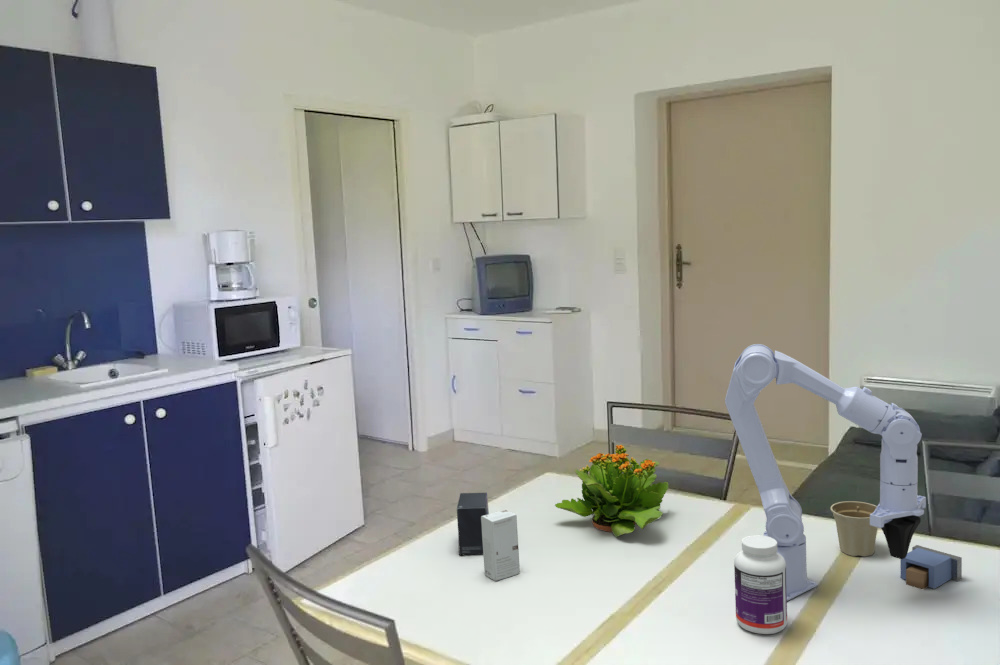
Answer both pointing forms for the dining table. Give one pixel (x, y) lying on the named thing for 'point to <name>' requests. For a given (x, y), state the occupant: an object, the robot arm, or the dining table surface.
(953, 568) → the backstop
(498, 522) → the skincare box
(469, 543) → the small box
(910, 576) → the walnut peg
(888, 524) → the robot arm
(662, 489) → the potted flower
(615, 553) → the dining table surface
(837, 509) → the flower pot
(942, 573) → the socket block
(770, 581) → the pill bottle
